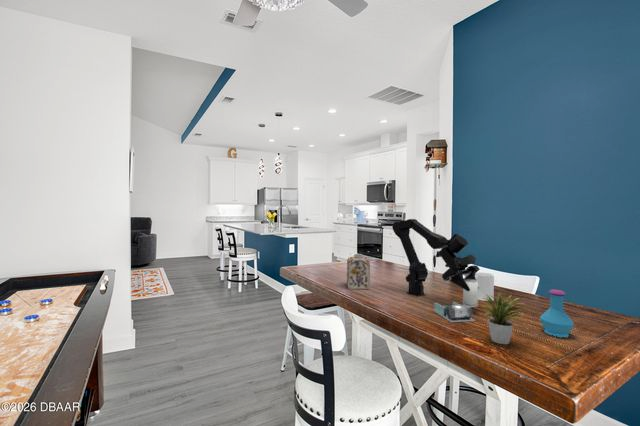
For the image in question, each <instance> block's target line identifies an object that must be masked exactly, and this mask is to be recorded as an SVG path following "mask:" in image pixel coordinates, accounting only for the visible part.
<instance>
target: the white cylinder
mask: <svg viewBox="0 0 640 426" xmlns="http://www.w3.org/2000/svg"><path fill="white" fill-rule="evenodd" d="M465 282H466V283H467V285H468V287H469V289H470V291H467V290H465V289H463V288H462V291H463V292H462V305H464V304H469V305H470V306H471V308H477V307H478V306H479V300H478V282H477V281H476V280H473V279H465Z"/></svg>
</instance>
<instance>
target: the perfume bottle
mask: <svg viewBox="0 0 640 426" xmlns="http://www.w3.org/2000/svg"><path fill="white" fill-rule="evenodd" d="M548 293H549V295H550V301H549V303H550V305H549V306H550V307H549V308H548V309H546V311H545V312H543V313H542V314H541V315H540V318H539V320H540V323H541V324H542V328H544V329H543V330H544V331H543V332H544V333H545V334H547V335H549V336H552V335H553V336H552V337H556V336H557V337H556V338H562V337H566V338H569V334H570V333H571V332H572V330H573V328H574V321H573V320H572V319H571V318H570V316H569V315H568V314H567V313H566V311H565V310H564V297H565V295H566V292H565V291H563V290H560V289H550V290H548Z"/></svg>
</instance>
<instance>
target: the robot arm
mask: <svg viewBox="0 0 640 426" xmlns="http://www.w3.org/2000/svg"><path fill="white" fill-rule="evenodd" d="M391 228H392V231H393V233H394V234H395V235H396V236H397V237H398V238H399V239H400V243H401V245H402V247H403V251H404V253H405V256H406V258H407V261H408V263H409V264H408V265H409V267H408V272H409V273H408V274H407V275H406V276H405V280H406V281H405V282H407V283H408V291H407V292H406V294H409V295H413V296H416V297H418V296H422V295H424V294H425V292H424V291H425V290H424V288H425V287H424V284H423V283H424V282H426V280H427V278H428V275H429V273H428V271H429V270H428V268H427V265H426V263H425V262H421V261H420V260H419V257H418V254H417V252H416V249H415V248H414V244H413V241H412V239H411V237H410V232H411V230H410V229H412V230H413V231H414V232H416V233H417V234H419V235H420V236H421V237H422V238H424V239H425V240H426V243H427V244H428V245H429V247H430V248H431V249H433V250H437V249H438V251H436V255H435V257H436V258H441V259H442V260H443V262H444V263H445V265H444V266H445V268H448V269H447V270H445V271H444V272H443V273H442V275H441V276H442V277H441V278H442V279H443V280H444V282H446V281H448V282H451V283H453V284H455V285H456V286H458V287H460V288H462V290H463V289H465V290H467V291H470V289H469V287H468V285H467V283H466V282H465V279H473V280H476V278H475V273H478V272H480V270H481V269H480V267H479V266H478V265H477V264H476V261H477V258H476V257H475V255H473V254H468V255H466V256H463V257H461V256H458V255H456V254H459V253H460V252H461V251H463V250H464V249H465V248H466V247H467V246H468V245H469V244H468V243H469V242H468V241H467V239H466V238H464V237H463V236H461V235H459V233H454V234H452V237H451V238H449V239H448V238H447V237H445V236H443V235H441V234H440V233H435V232H433V231H432V230H431V229H429V228H427V227H426V226H424V224H422V223H421V222H419V221H418V220H417V219H416V218H410V219H406V220H401V221H394V222H393V224H392V227H391ZM473 264H476V265H473ZM478 289H479V287H478Z"/></svg>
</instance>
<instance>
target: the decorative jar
mask: <svg viewBox="0 0 640 426" xmlns="http://www.w3.org/2000/svg"><path fill="white" fill-rule="evenodd" d="M346 260H347V261H346V285H347V288H348V290H370V288H371V262H370V259H369V258H368V257H366V256H363V253H354V254H353V256H350V257H347V259H346Z"/></svg>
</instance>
